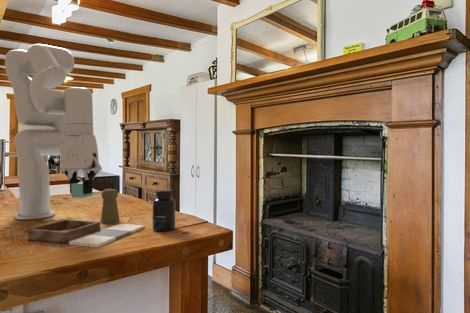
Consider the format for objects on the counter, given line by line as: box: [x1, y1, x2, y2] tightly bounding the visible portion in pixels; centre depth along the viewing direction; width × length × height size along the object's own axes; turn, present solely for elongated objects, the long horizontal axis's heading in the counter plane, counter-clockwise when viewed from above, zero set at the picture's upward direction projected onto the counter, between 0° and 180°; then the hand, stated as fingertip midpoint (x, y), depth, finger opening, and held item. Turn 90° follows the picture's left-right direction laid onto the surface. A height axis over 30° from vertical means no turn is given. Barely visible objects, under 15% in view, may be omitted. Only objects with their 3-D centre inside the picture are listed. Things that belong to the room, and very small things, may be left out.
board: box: [68, 223, 146, 249], centre depth 97 cm, size 9×21×1 cm, turn 161°
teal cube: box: [71, 181, 94, 199], centre depth 100 cm, size 4×4×4 cm
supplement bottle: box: [152, 188, 176, 233], centre depth 104 cm, size 7×7×12 cm
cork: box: [100, 188, 120, 225], centre depth 115 cm, size 6×6×11 cm
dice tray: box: [27, 218, 101, 245], centre depth 97 cm, size 13×13×3 cm
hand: (81, 192), depth 100 cm, fingers closed on teal cube, 3 cm apart
